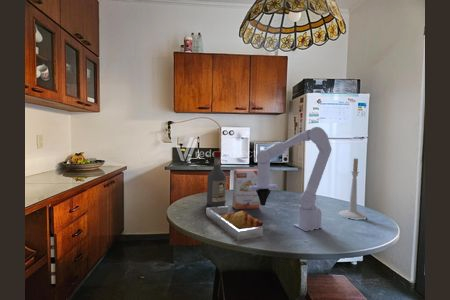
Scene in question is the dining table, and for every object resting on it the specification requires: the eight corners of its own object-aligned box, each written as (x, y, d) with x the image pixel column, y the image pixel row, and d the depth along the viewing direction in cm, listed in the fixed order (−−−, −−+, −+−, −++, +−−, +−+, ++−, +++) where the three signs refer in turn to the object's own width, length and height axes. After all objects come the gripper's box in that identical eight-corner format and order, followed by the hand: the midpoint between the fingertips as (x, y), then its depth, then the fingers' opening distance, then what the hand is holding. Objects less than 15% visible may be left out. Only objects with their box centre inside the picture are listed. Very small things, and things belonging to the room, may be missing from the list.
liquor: (204, 203, 150) (206, 151, 148) (218, 201, 155) (219, 150, 153) (214, 207, 142) (215, 152, 140) (227, 205, 148) (229, 152, 146)
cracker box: (235, 209, 140) (236, 170, 138) (232, 206, 145) (233, 169, 144) (259, 208, 143) (261, 170, 142) (255, 205, 149) (257, 168, 148)
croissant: (214, 231, 118) (211, 218, 114) (222, 215, 126) (219, 202, 122) (261, 238, 110) (259, 224, 106) (266, 220, 118) (264, 207, 114)
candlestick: (352, 211, 142) (356, 156, 140) (372, 219, 130) (376, 159, 128) (333, 213, 139) (336, 156, 137) (351, 221, 126) (355, 159, 124)
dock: (226, 212, 134) (226, 205, 134) (262, 236, 105) (262, 227, 104) (206, 214, 130) (206, 207, 129) (238, 240, 100) (238, 231, 100)
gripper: (271, 174, 129) (270, 201, 130) (245, 175, 123) (244, 204, 124) (280, 176, 123) (279, 204, 124) (253, 177, 117) (252, 208, 117)
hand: (262, 204), depth 123 cm, fingers closed
